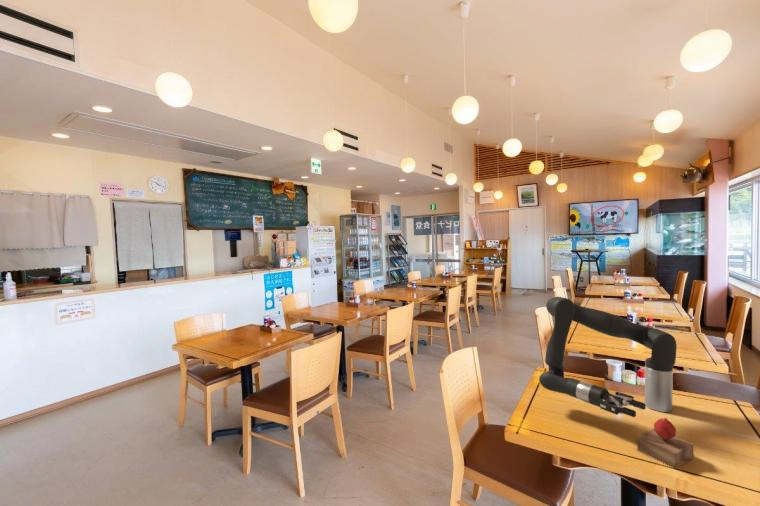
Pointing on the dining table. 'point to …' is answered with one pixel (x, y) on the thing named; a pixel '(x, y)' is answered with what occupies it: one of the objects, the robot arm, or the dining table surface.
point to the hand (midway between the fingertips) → (640, 410)
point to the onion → (664, 429)
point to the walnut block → (665, 448)
